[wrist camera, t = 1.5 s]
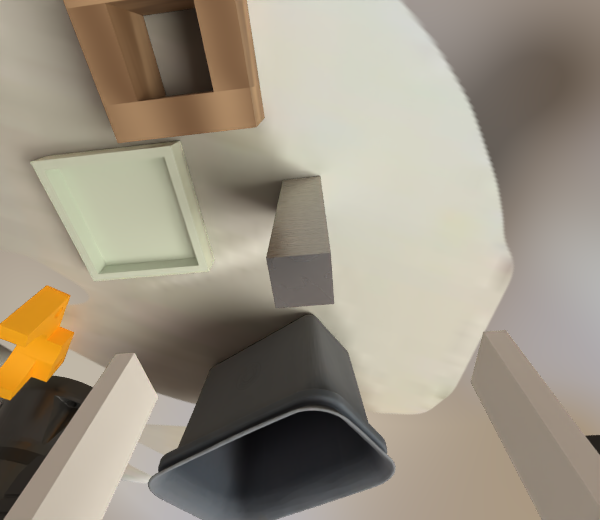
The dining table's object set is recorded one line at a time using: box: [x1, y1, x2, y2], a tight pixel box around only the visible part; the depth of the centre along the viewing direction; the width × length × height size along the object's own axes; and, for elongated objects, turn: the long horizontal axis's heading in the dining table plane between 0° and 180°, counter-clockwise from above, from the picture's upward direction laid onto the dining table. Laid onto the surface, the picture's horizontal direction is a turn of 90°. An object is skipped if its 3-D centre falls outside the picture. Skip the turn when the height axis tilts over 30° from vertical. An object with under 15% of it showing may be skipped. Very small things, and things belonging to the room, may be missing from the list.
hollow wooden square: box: [63, 0, 265, 143], centre depth 22 cm, size 10×10×5 cm
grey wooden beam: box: [266, 176, 334, 308], centre depth 24 cm, size 3×3×14 cm
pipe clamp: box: [0, 285, 74, 400], centre depth 36 cm, size 12×4×6 cm, turn 147°
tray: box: [30, 141, 214, 281], centre depth 30 cm, size 12×12×2 cm
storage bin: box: [148, 315, 395, 520], centre depth 35 cm, size 21×16×14 cm
